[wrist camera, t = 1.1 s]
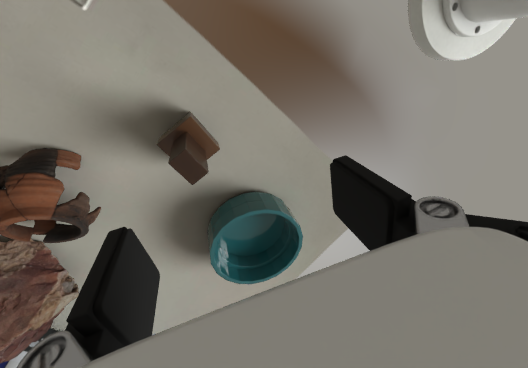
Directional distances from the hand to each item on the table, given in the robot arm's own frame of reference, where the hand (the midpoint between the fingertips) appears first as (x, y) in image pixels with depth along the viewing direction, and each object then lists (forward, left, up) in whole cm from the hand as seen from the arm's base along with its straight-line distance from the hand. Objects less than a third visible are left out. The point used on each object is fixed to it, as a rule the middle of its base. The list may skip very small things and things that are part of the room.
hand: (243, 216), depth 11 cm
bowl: (+7, +17, -22) cm, 28 cm away
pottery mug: (+20, -6, -22) cm, 30 cm away
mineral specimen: (+34, 0, -22) cm, 40 cm away
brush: (+4, 0, -22) cm, 22 cm away
